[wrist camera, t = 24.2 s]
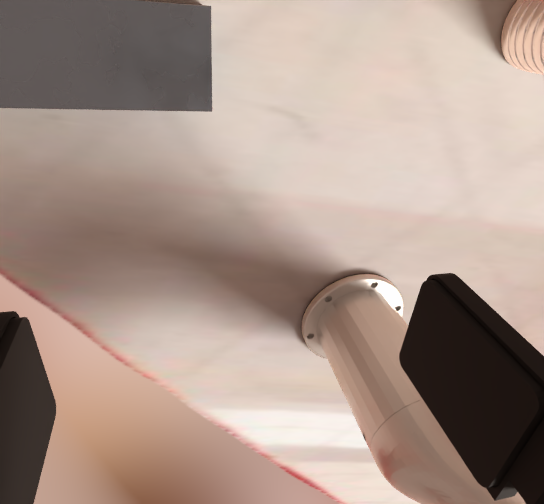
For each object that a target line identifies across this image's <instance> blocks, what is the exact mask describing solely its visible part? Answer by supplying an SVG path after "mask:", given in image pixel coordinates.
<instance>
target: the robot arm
mask: <svg viewBox="0 0 544 504" xmlns="http://www.w3.org/2000/svg"><path fill="white" fill-rule="evenodd" d="M402 313H403V299H402V296H401V294H400V292H399V291H398V289H397V288H396V287H395V286H394V285H393V284H392V282H390V281H389V280H387V279H386V278H384V277H381V276H378V275H372V274H359V275H353V276H349V277H346V278H343V279H341V280H338V281H336V282H334V283H333V284H331V285H329V286H327V287H326V288H325V289H324V290H322V291H321V292H320V293H319V294H318V295H317V296H316V297H315V298H314V299H313V300H312V301H311V303H310V304H309V306H308V307H307V309H306V311H305V313H304V315H303V319H302V334H303V338H304V340H305V342H306V344H307V346H308V347H309V349H310V350H311V351H312V352H313V353H315V354H316V355H318V356H320V357H323V358H326V359H328V361H329V363H330V365H331V367H332V369H333V372H334V374H335V376H336V378H337V380H338V382H339V385H340V387H341V389H342V391H343V393H344V395H345V397H346V400H347V402H348V404H349V406H350V408H351V410H352V413H353V415H354V417H355V419H356V421H357V423H358V426H359V428H360V430H361V432H362V434H363V436H364V439H365V441H366V443H367V445H368V447H369V449H370V451H371V453H372V456H373V458H374V460H375V462H376V464H377V466H378V468H379V470H380V471H381V473H382V474H383V476H384V477H385V478H386V480H387V481H388V482H389V483H390V484H391V485H392V486H393V487H394V488H396V489H397V490H398V491H400V492H401V493H402V494H404V495H406V496H407V497H409V498H411V499H413V500H415V501H417V502H419V503H421V504H544V356H543V355H542V354H541V353H540V352H539V351H537V350H536V349H535V348H534V347H533V346H532V345H531V344H530V343H529V342H528V341H527V340H526V339H525V338H523V337H522V336H521V335H520V334H519V333H518V332H517V331H516V330H515V329H514V328H513V327H512V326H511V325H509V324H508V323H507V322H506V321H505V320H504V319H503V318H502V317H501V316H500V315H499V314H498V313H497V312H496V311H494V310H493V309H492V308H491V307H490V306H489V305H488V304H487V303H486V302H485V301H484V300H483V299H482V298H480V297H479V296H478V295H477V294H476V293H475V292H474V291H473V290H472V289H471V288H470V287H469V286H468V285H466V284H465V283H464V282H463V281H462V280H461V279H460V278H459V277H458V276H457V275H455V274H452V273H447V274H435V275H431V276H429V277H428V278H427V280H426V281H424V282H423V284H422V286H421V289H420V292H419V295H418V298H417V301H416V304H415V307H414V310H413V313H412V316H411V319H410V323H409V326H408V325H407V324H406V322H405V321H404V320H403V318H402ZM55 416H56V403H55V399H54V396H53V393H52V390H51V387H50V384H49V380H48V377H47V374H46V371H45V368H44V365H43V362H42V359H41V356H40V353H39V350H38V347H37V344H36V341H35V337H34V335H33V331H32V328H31V325H30V322H29V320H28V319H27V318H26V317H22V318H20V317H19V315H18V314H17V313H16V312H14V311H12V312H0V504H33V503H34V499H35V495H36V491H37V487H38V483H39V480H40V475H41V472H42V468H43V464H44V459H45V456H46V451H47V448H48V444H49V440H50V436H51V432H52V428H53V424H54V420H55Z"/></svg>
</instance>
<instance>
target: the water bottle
mask: <svg viewBox="0 0 544 504" xmlns="http://www.w3.org/2000/svg"><path fill="white" fill-rule="evenodd" d="M501 48H502V52H503V55H504V57H505V59H506V60H507V62H508V63H509V64H510V65H512V66H513V67H515V68H517V69H520V70H524V71H526V72H531V73H536V74H542V75H544V0H517V1H516V3H515V4H514V5H513V7H512V8H511V10H510V12H509V13H508V16H507V18H506V20H505V23H504V26H503V29H502V35H501Z"/></svg>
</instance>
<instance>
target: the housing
mask: <svg viewBox="0 0 544 504" xmlns="http://www.w3.org/2000/svg"><path fill="white" fill-rule="evenodd" d="M0 108H41V109H99V110H156V111H212V65H211V6H205V5H194V4H181V3H169V2H156V1H143V0H0Z"/></svg>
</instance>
